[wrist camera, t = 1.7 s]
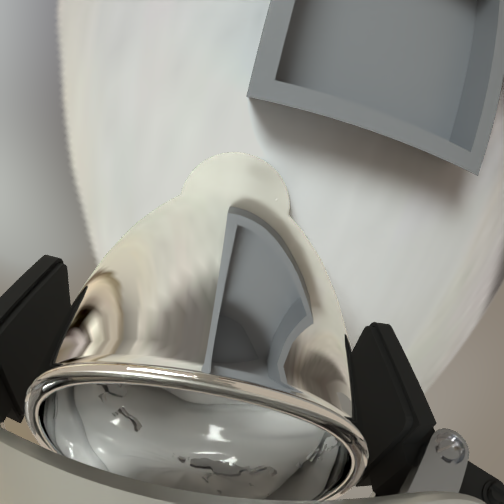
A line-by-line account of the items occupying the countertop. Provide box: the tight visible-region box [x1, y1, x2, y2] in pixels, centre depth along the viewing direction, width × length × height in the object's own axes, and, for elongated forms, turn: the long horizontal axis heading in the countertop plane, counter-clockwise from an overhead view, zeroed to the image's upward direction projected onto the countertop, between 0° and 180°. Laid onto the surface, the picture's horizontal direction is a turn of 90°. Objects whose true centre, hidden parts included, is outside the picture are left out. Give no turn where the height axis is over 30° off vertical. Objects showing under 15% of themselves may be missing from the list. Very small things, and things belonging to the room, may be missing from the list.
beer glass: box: [23, 152, 370, 501], centre depth 11 cm, size 7×7×15 cm
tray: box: [246, 0, 504, 176], centre depth 12 cm, size 13×12×3 cm
